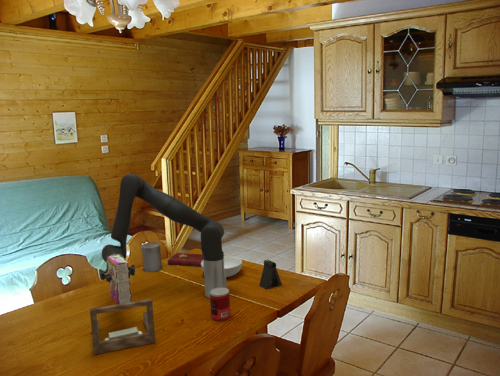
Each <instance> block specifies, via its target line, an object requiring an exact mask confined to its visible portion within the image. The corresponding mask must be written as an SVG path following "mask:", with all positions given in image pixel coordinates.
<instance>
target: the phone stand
mask: <svg viewBox="0 0 500 376" xmlns="http://www.w3.org/2000/svg"><path fill="white" fill-rule="evenodd" d="M258 284H259V286H260V287H261V288H263V289H265V290H270V289H273V288H277V287H281V286H282V285H283V283H282V281H281V277H280V275H279V273H278V269H277V262H274V261H273V260H270V259H265V260H264V261H263V269H262V272H261V277H260V281H259V283H258Z"/></svg>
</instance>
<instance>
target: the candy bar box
mask: <svg viewBox="0 0 500 376" xmlns="http://www.w3.org/2000/svg"><path fill="white" fill-rule="evenodd" d="M107 260H108V271H109V274H110V281H111V282H110V283H109V290H110V297H111V298H112V300H113V301H114V302H115V303H116V305H118V304H124V303H130V302H132V295H131V282H130V278H129V271H130V270H129V269H128V267H129V262H128V261H127V260H126V259H124V258H123V257H122V256H120V255H113V256H109V257H107Z"/></svg>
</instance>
